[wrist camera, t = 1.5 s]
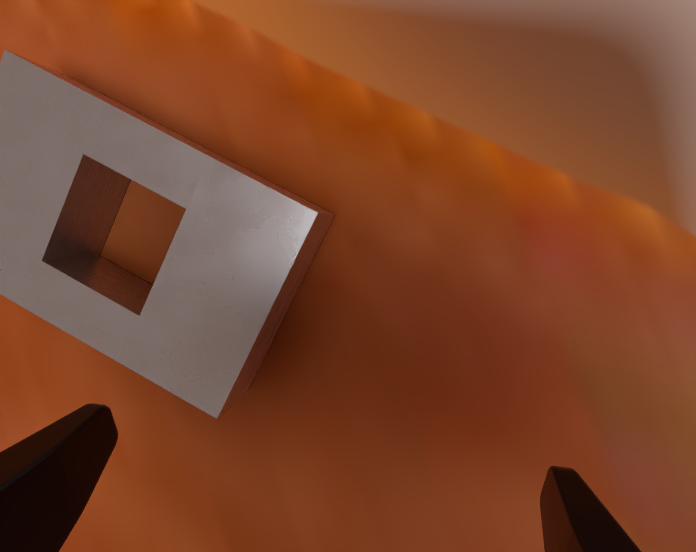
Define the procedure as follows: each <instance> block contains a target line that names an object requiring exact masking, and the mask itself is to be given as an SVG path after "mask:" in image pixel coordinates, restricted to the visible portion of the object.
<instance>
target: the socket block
mask: <svg viewBox="0 0 696 552" xmlns="http://www.w3.org/2000/svg"><path fill="white" fill-rule="evenodd" d="M130 180H133V181H135V182H137V183H139V184H141V185H142V186H144V187H146V188H148V189H150V190H152V191H154V192H155V193H157V194H159V195H161V196H163V197H165V198H167V199H169V200H170V201H172V202H174V203H176V204H178V205H180V206H182V207H184V208H185V209H186V211H185V213H184V216H183V218H182V220H181V222H180V225H179V227H178V229H177V232H176V234H175V236H174V238H173V241H172V243H171V245H170V247H169V250H168V252H167V254H166V257H165V259H164V261H163V263H162V266H161V268H160V270H159V273H158V275H157V277H156V279H155V282H154V284H153V285H151V284H150V283H148V282H146V281H144V280H142V279H141V278H139V277H137V276H135V275H133V274H132V273H130V272H128V271H126V270H124V269H123V268H121V267H119V266H117V265H115V264H114V263H112V262H110V261H108V260H106V259H105V258H103V257H101V256H99V255H100V253H101V250H102V248H103V245H104V243H105V241H106V238H107V236H108V233H109V231H110V228H111V226H112V224H113V221H114V219H115V216H116V214H117V211H118V209H119V207H120V204H121V202H122V199H123V197H124V195H125V192H126V190H127V187H128V185H129V182H130ZM334 216H335V215H334V214H332V213H330V212H328V211H326V210H324V209H322V208H320V207H318V206H316V205H314V204H313V203H311V202H309V201H307V200H305V199H303V198H301V197H299V196H297V195H295V194H293V193H291V192H289V191H288V190H286V189H284V188H282V187H280V186H278V185H276V184H274V183H272V182H270V181H268V180H266V179H264V178H263V177H261V176H259V175H257V174H255V173H253V172H251V171H249V170H247V169H245V168H243V167H241V166H239V165H238V164H236V163H234V162H232V161H230V160H228V159H226V158H224V157H222V156H220V155H218V154H216V153H214V152H213V151H211V150H209V149H207V148H205V147H203V146H201V145H199V144H197V143H195V142H193V141H191V140H189V139H188V138H186V137H184V136H182V135H180V134H178V133H176V132H174V131H172V130H170V129H168V128H166V127H164V126H163V125H161V124H159V123H157V122H155V121H153V120H151V119H149V118H147V117H145V116H143V115H141V114H139V113H138V112H136V111H134V110H132V109H130V108H128V107H126V106H124V105H122V104H120V103H118V102H116V101H114V100H113V99H111V98H109V97H107V96H105V95H103V94H101V93H99V92H97V91H95V90H93V89H91V88H89V87H88V86H86V85H84V84H82V83H80V82H78V81H76V80H74V79H72V78H70V77H68V76H66V75H63V74H61V73H59V72H56V71H54V70H51V69H49V68H47V67H44V66H42V65H40V64H37V63H35V62H33V61H30V60H28V59H26V58H23V57H21V56H19V55H16V54H14V53H12V52H9V51H7V50H5V51H4V54H3V57H2V59H1V62H0V294H1V295H2V296H4V297H6V298H8V299H9V300H11V301H13V302H15V303H16V304H18V305H20V306H22V307H23V308H25V309H27V310H29V311H30V312H32V313H34V314H35V315H37V316H39V317H41V318H42V319H44V320H46V321H48V322H49V323H51V324H53V325H55V326H56V327H58V328H60V329H61V330H63V331H65V332H67V333H68V334H70V335H72V336H74V337H75V338H77V339H79V340H81V341H82V342H84V343H86V344H88V345H89V346H91V347H93V348H94V349H96V350H98V351H100V352H101V353H103V354H105V355H107V356H108V357H110V358H112V359H114V360H115V361H117V362H119V363H120V364H122V365H124V366H126V367H127V368H129V369H131V370H133V371H134V372H136V373H138V374H140V375H141V376H143V377H145V378H146V379H148V380H150V381H152V382H153V383H155V384H157V385H159V386H160V387H162V388H164V389H166V390H167V391H169V392H171V393H173V394H174V395H176V396H178V397H179V398H181V399H183V400H185V401H186V402H188V403H190V404H192V405H193V406H195V407H197V408H199V409H200V410H202V411H204V412H205V413H207V414H209V415H211V416H212V417H214V418H216V419H218V418H219V417H220V416H221V415H222V414H223V413H224V412H225V411H226V410H227V409H228V408H229V407H230V406H231V405H232V404H233V403H234V402H235V401H237V400H238V399H239V398H240V397H241V396H242V395H243V394H244V393H245V392H246V391H247V390H248V389H249V387H250V385H251V383H252V381H253V379H254V377H255V375H256V373H257V371H258V369H259V367H260V365H261V363H262V361H263V359H264V357H265V355H266V353H267V351H268V349H269V347H270V345H271V343H272V341H273V339H274V337H275V335H276V333H277V331H278V329H279V327H280V325H281V323H282V321H283V319H284V317H285V315H286V313H287V311H288V309H289V307H290V305H291V303H292V301H293V298H294V296H295V294H296V292H297V290H298V288H299V286H300V284H301V282H302V280H303V278H304V276H305V274H306V272H307V270H308V268H309V266H310V264H311V262H312V260H313V258H314V256H315V254H316V252H317V250H318V248H319V246H320V244H321V242H322V240H323V238H324V236H325V234H326V232H327V230H328V228H329V226H330V224H331V222H332V220H333V218H334Z"/></svg>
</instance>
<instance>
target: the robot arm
mask: <svg viewBox="0 0 696 552" xmlns="http://www.w3.org/2000/svg"><path fill="white" fill-rule="evenodd" d="M117 439H118V431H117V428H116V425H115V422H114V419H113V416H112V413H111V410H110V408H109V407H108V406H106V405H100V404H87V405H85V406H83V407H81V408H79V409H77V410H75V411H74V412H72V413H70V414H68V415H66V416H65V417H63V418H61V419H59V420H58V421H56V422H54V423H52V424H50V425H49V426H47V427H45V428H43V429H41V430H40V431H38V432H36V433H34V434H32V435H31V436H29V437H27V438H25V439H23V440H22V441H20V442H18V443H16V444H15V445H13V446H11V447H9V448H7V449H6V450H4V451H2V452H0V552H59V550H60V549H61V547H62V545H63V544H64V542H65V541H66V539H67V537H68V536H69V534H70V532H71V531H72V529H73V527H74V526H75V524H76V522H77V521H78V519H79V517H80V515H81V514H82V512H83V510H84V508H85V506H86V504H87V502H88V500H89V498H90V496H91V494H92V492H93V490H94V488H95V486H96V484H97V482H98V480H99V478H100V476H101V474H102V472H103V470H104V468H105V466H106V464H107V462H108V459H109V457H110V455H111V453H112V451H113V449H114V447H115V445H116V442H117ZM540 509H541V519H542V529H543V538H544V548H545V552H641V551H640V549H639V548H638V547H637V546H636V544H635V543H634V542H633V541H632V539H631V538H630V537H629V536H628V534H627V533H626V532H625V531H624V530H623V528H622V527H621V526H620V525H619V523H618V522H617V521H616V520H615V518H614V517H613V516H612V515H611V514H610V512H609V511H608V510H607V509H606V507H605V506H604V505H603V504H602V502H601V501H600V500H599V499H598V497H597V496H596V495H595V494H594V493H593V491H592V490H591V489H590V488H589V486H588V485H587V484H586V483H585V481H584V480H583V479H582V478H581V476H580V475H579V474H578V473H577V472H576V471H575V470H574V469H572V468H567V467H559V466H551V467H550V468H549V470H548V472H547V476H546V479H545V482H544V485H543V488H542V492H541V496H540Z"/></svg>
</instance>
